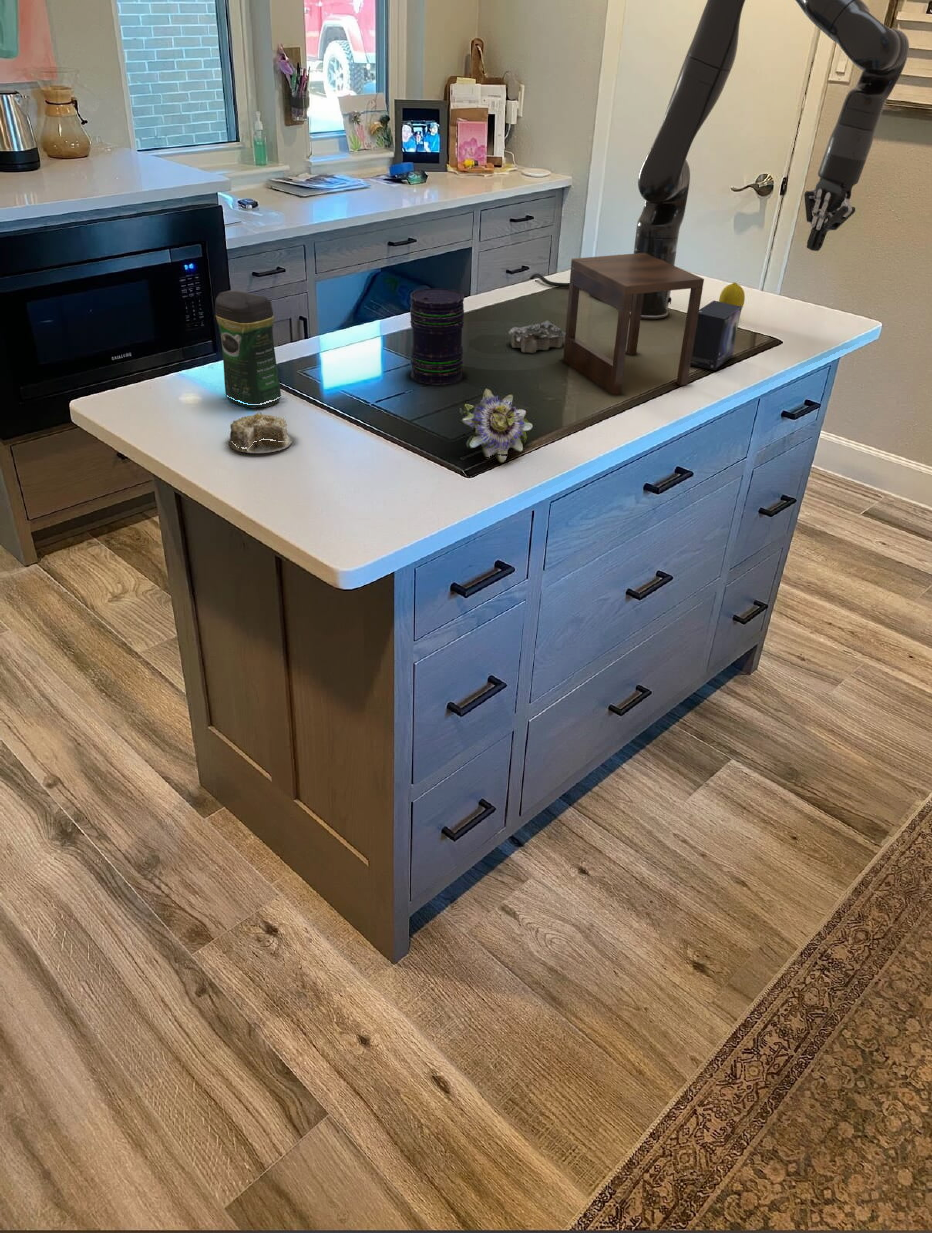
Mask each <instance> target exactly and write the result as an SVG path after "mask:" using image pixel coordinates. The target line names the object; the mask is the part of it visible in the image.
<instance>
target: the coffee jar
mask: <svg viewBox="0 0 932 1233" xmlns="http://www.w3.org/2000/svg"><path fill="white" fill-rule="evenodd" d="M214 306H215V307H214V310H215V318H216V322H217V325H218V329H219V334H220V340H221V353H222V364H223V378H224V381H223V382H224V391H225V392H224V393H225V397H226V398H227V400H229V401H230V402H232V403H234V404H237V405H240V406H243V407H246V408H251V409H254V408H261V407H262V408H266V407H270V406H272V405H274V404H276V403H277V402H278V401H280V399H282V398H281V397H282V391H281V385H280V384H281V383H280V377H279V372H278V365H277V358H276V357H277V356H276V351H275V344H274V343H275V342H274V321H275V316H274V309H273V304H272V301H271V300H270V299H269V298H267V297H265V296H261V295H256V294H253V293H250V292H246V291H242V290H240V289H239V288H236V289H232V290H226V291H223V292H219V293H218V294H217V297H216V298H215V303H214ZM226 395H228V396H229V397H232V398H234V399H235V400H240V401H242V402H244V403H248V404H260V403H264V402H266V401H269V400H274V399H276V398H277V397H280V396H281V397H280V398H279V399H277V400H275V401H272V402H269V403H266V404H262V405H247V404H243V403H240V402H238V401H235V400H233V399H231V398H229V397H227V396H226Z"/></svg>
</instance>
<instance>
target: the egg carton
mask: <svg viewBox="0 0 932 1233" xmlns="http://www.w3.org/2000/svg"><path fill="white" fill-rule="evenodd" d="M565 333H566V331H563V329H562V328H559V327H558V326H557V325H555V324H552V323H551V322H550V321H549V320H545V321H542V322H540V323H535V324H532V323H531V324H529V325H526V326H522V327H518V326H517V327H516V326H514V327H512V328H510V330H509V331H508V335H511V344H510V345H511V347H512V348H514V349H515V348H517V349H521V350H520V351H521V352H522V353H530V354H534V353H535V354H536V352H537V351H539V350H540V351H541V350H542V351H547V350H549V349H550V348H557V349H559V348H562V346H563V338H565Z"/></svg>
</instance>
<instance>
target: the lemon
mask: <svg viewBox="0 0 932 1233" xmlns="http://www.w3.org/2000/svg"><path fill="white" fill-rule="evenodd" d="M745 297H746V296H745V291H744V289H743V287H742V286H741V285H739V284H738V283H737V282H732V283H730V284H728V285H726V286H725V287H724V288H723V289H722V291H721V293H720V295H719V297H718V301H719V302H723V303H728V304H732V305H737V306H742V309H741V311H742V310H743V308H744V305H745V299H746V298H745Z"/></svg>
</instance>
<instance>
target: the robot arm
mask: <svg viewBox="0 0 932 1233" xmlns="http://www.w3.org/2000/svg"><path fill="white" fill-rule="evenodd" d="M795 2H796V3H797V5H798V6H799V8H800V9H801V10H802V12H803V13H804V15H805V16H806V17H807V18H808V19H809V21H811V23H812V24H814V25H815V26H816V27H817V28H818V29H819V30H820V31H821V32H823V33H824V34H825V35H826V36H827V37H828V38H829V39H831V41H833V42H834V43H836V44H837V45H838V46H839V47H840V49H841V50H842V51H843V53H844V54H845V55H846V57H847V58H848V59H849V60H850V61H851V62H852V63H853V64H854V65H855V66H856V67H857V68H858V69H860V70H861V71H862V72H861V74H860V76H859V79H858V82H857V83H856V85H855V87H853V88H852V89H850V90H849V91H848V92H847V94H846V96H845V98H844V99H843V103H842V106H841V109H840V111H839V115H838V117H837V120H836V124H835V126H834V127H833V130H832V132H831V134H830V137H829V139H828V142H827V145H826V148H825V151H824V154H823V157H822V160H821V163H820V166H819V169H818V172H817V176H818V177H819V180H818V182H817V183H816V185H815V188H813V189H811V190H806V191H805V192H804V195H803V197H804V208H805V217H806V218H805V219H806V222H807V223H809V224H810V227H811V230H810V232H809V236H808V238H807V242H806V248H807V249H808V250H810V251H812V252H819V251H820V250H821V248H822V247H823V245H824V241H825V239H826V236H827V233H828V232H830V231H836V230H838V229H839V228H840V227H841V226H842V225H843V224H844V223H845V222H846V221H847V220H849V219H850V217H851V216H853V215H854V214H855V212H856V207H855V206H851V202H850V200H851V197H852V191H853V190H852V189H853V187H854V186H856V185H857V184H858V183H859V181H860V178H861V175H862V173H863V171H864V167H865V164H866V162H867V159H868V156H869V153H870V151H871V148H872V146H873V142H874V136H875V133H876V129H877V127H878V125H879V121H880V120H881V116H882V113H883V110H884V107H885V105H886V102H887V100H888V99H889V97H890V95H891V94H892V92H893V90H894V88H895V86H896V84H897V83H898V81H899V78H900V76H902V72H903V71H904V68H905V66H906V63H907V60H908V56H909V52H910V42H909V39H908V37H907V35H906V33H905V32H903V30H900V29H897V28H892V27H888V26H886V25H885V24H884V23H883V22H881V21H880V20H878V18H876V17H875V16H874V14H873V15H872V14H871V11H870V8H869V7H868V5H867V4H866V3H865V2H864V1H863V0H795ZM745 3H746V0H707V1H706V4H705V5H704V9H703V11H702V14H701V16H700V20H699V23H698V25H697V28H696V30H695V33H694V35H693V38H692V40H691V43H690V45H689V48H688V50H687V53H686V54H685V58H684V60H683V63H682V66H681V68H680V71H679V74H678V77H677V79H676V82H675V84H674V88H673V89H672V90H673V91H672V93H671V96H670V99H669V102H668V104H667V107H666V111H665V114H664V116H663V119H662V122H661V125H660V128H659V130H658V132H657V135H656V137H655V138H654V141H653V143H652V145H651V147H650V149H649V151H648V153H647V155H646V157H645V159H644V160H643V163H642V165H641V167H640V169H639V173H638V175H637V176H638V178H637V187H638V192H639V194H640V196H641V198H642V199H643V200H644V205H643V209H642V211H641V214H640V216H639V218H638V220H637V222H636V228H635V239H634V245H633V246H634V248H633V254H636V253H646V254H649V255H651V256H653V257H655V258H658V259H660V260H662V261H664V262H667V263H669V264H671V265H674V266H675V264H676V257H677V249H678V242H679V237H680V236H679V234H680V229H681V226H682V223H683V221H684V218H685V213H686V207H687V201H688V197H689V196H688V195H689V190H690V184H691V183H690V182H691V169H690V165H689V163H688V161H687V158H688V154H689V152H690V150H691V146H692V144H693V142H694V140H695V138H696V136H697V134H698V132H699V131H700V130H701V128H702V126H703V124H704V123H705V122H706V120H707V118H708V116H709V115H710V114H711V112H712V111H713V109H714V107H715V106H716V104H717V102H718V101H719V98H721V95H722V92H723V91H724V88H725V85H726V84H727V81H728V78H729V76H730V74H731V71H732V69H733V66H734V63H735V60H736V57H737V51H738V45H739V36H740V22H741V16H742V14H743V13H742V12H743V8H744V5H745ZM536 278H538V279H539V280H540V281H541V282H542V283H544V284H545V285H548V286H551V287H557V288H569V285H570V282H558V281H557V282H556V281H551V280H549V279H547V278H546V277H544V276H543V275H542V274H541V273H538V272H534V273H532V275H530V277H529V278H528V279H529V280H534V279H536ZM671 292H672V290H671V291H661V292H650V293H644V296H643V304H642V312H641V320H661V319H665V318H667V317H668V316H669V306H670V305H672V297H671ZM632 300H633V294H632ZM599 301H600V302H603V301H601V300H599ZM603 303H604V302H603ZM631 309H632V302H631ZM630 317H631V310H630Z"/></svg>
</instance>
